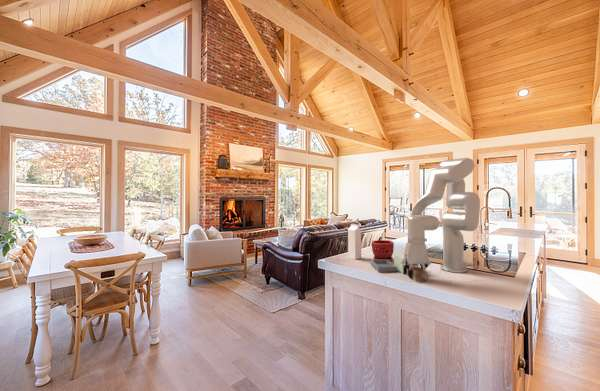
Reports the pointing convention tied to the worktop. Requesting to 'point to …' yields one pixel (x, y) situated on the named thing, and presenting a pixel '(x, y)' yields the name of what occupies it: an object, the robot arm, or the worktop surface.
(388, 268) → the tray
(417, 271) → the block
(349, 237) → the milk
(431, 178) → the robot arm
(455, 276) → the worktop surface
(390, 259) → the plant pot
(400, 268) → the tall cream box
